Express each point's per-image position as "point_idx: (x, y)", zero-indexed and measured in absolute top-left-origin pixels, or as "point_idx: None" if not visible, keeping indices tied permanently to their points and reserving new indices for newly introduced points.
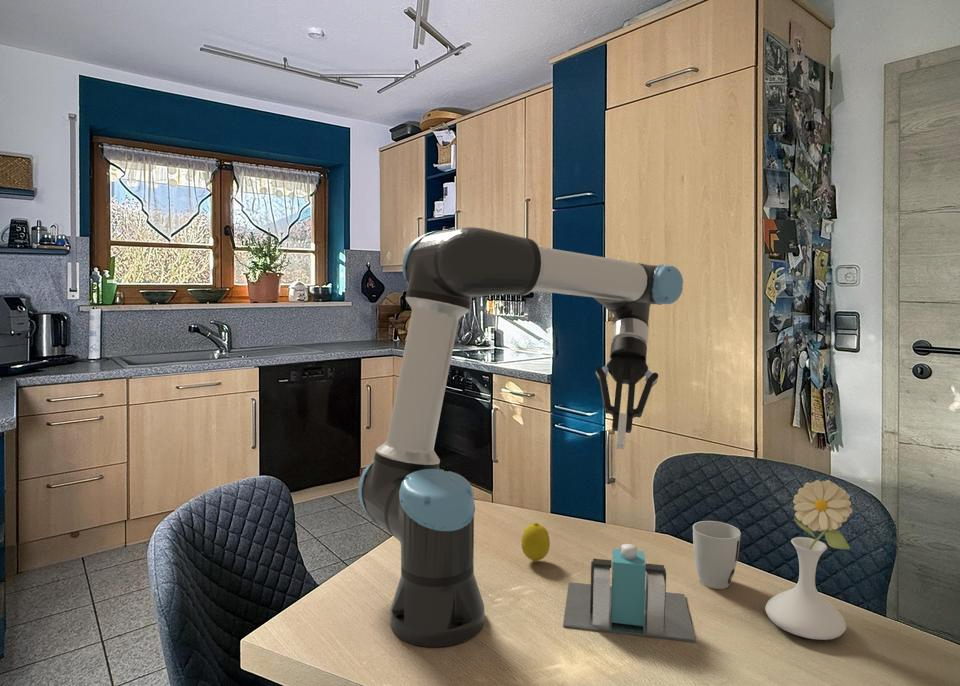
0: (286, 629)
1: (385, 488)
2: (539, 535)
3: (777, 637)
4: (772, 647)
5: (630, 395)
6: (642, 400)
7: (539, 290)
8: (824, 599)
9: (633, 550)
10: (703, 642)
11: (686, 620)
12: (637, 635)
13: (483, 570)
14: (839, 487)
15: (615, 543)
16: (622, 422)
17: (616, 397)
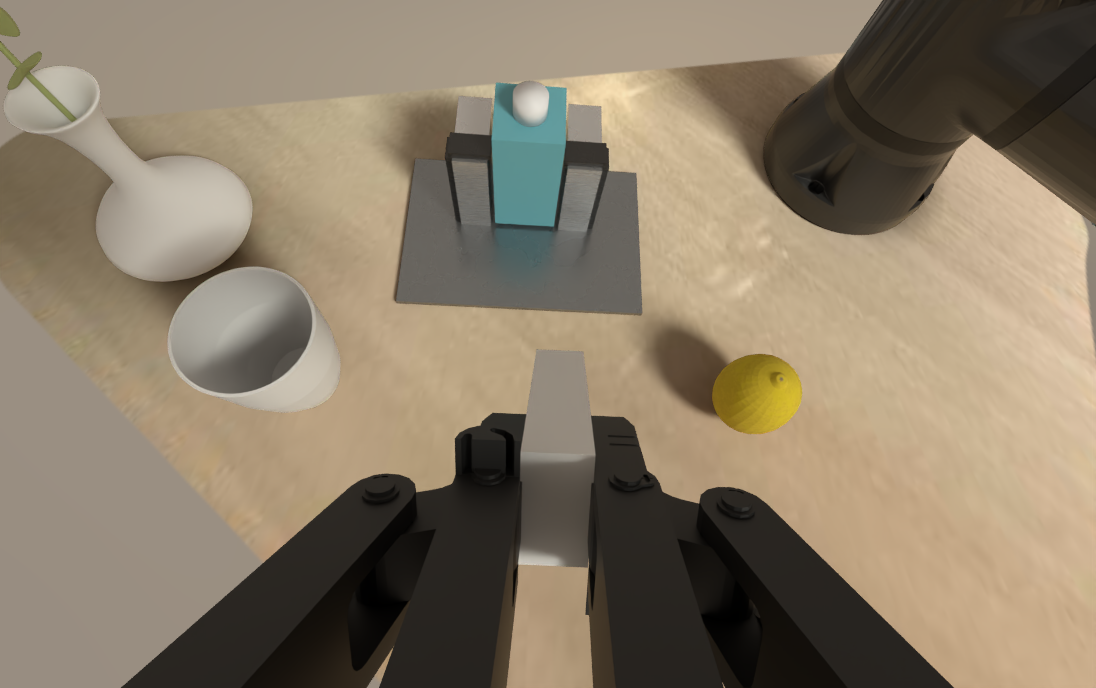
0: None
1: None
2: (752, 356)
3: (261, 191)
4: (285, 164)
5: (461, 638)
6: (296, 582)
7: None
8: (114, 184)
9: (521, 83)
10: (401, 163)
11: (415, 209)
12: None
13: (833, 346)
14: None
15: (531, 570)
16: (558, 412)
17: (673, 599)
